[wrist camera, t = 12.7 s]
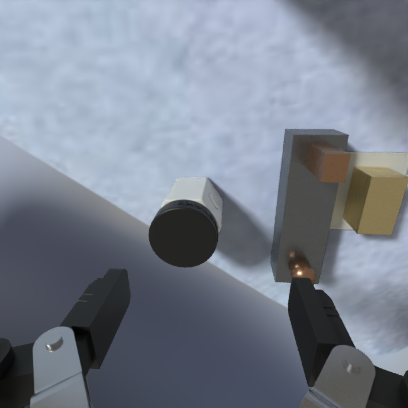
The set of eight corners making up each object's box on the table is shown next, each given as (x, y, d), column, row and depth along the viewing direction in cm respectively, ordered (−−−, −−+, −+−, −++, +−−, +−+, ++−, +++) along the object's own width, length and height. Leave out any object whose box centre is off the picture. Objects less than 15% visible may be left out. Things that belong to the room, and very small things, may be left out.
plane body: (285, 129, 36) (307, 143, 26) (333, 129, 36) (374, 144, 26) (270, 262, 45) (282, 311, 35) (309, 264, 44) (332, 314, 34)
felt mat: (335, 151, 37) (336, 152, 37) (410, 152, 36) (412, 153, 36) (320, 227, 42) (321, 228, 41) (387, 229, 41) (389, 231, 40)
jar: (231, 210, 42) (232, 252, 31) (189, 233, 44) (176, 280, 33) (200, 163, 39) (189, 191, 28) (157, 190, 42) (131, 225, 31)
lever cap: (353, 166, 37) (371, 176, 33) (386, 166, 37) (409, 177, 32) (342, 217, 40) (357, 233, 36) (372, 218, 40) (391, 234, 35)
